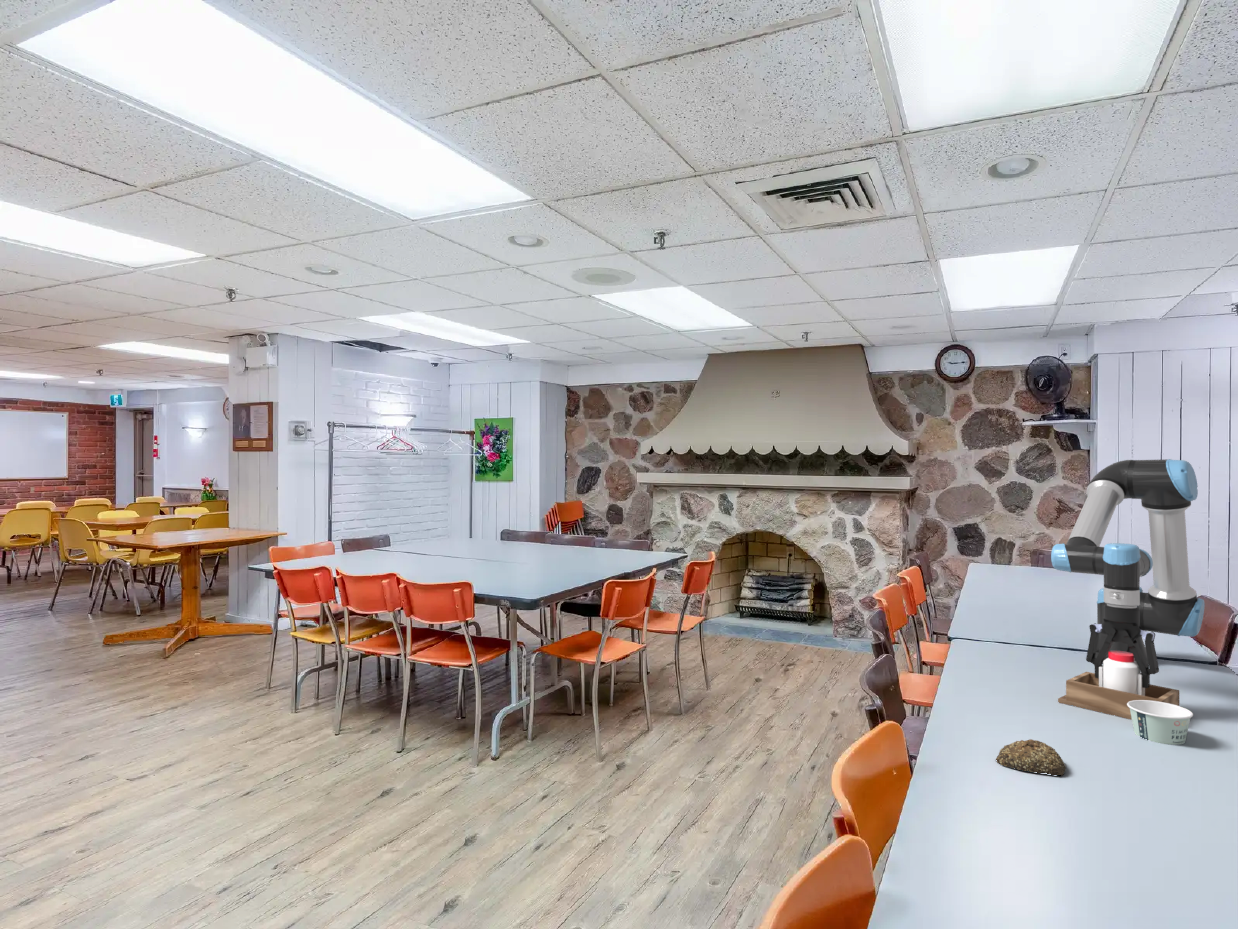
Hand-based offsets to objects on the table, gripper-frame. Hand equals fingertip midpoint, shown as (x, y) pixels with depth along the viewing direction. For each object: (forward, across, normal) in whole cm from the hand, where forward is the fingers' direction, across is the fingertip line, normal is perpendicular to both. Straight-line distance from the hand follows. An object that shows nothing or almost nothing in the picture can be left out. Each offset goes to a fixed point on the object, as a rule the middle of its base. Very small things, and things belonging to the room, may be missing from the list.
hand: (1121, 695), depth 182 cm
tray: (+3, 0, 0) cm, 3 cm away
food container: (+4, +12, -15) cm, 20 cm away
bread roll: (+4, 0, -53) cm, 53 cm away
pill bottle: (0, 0, 0) cm, 0 cm away
